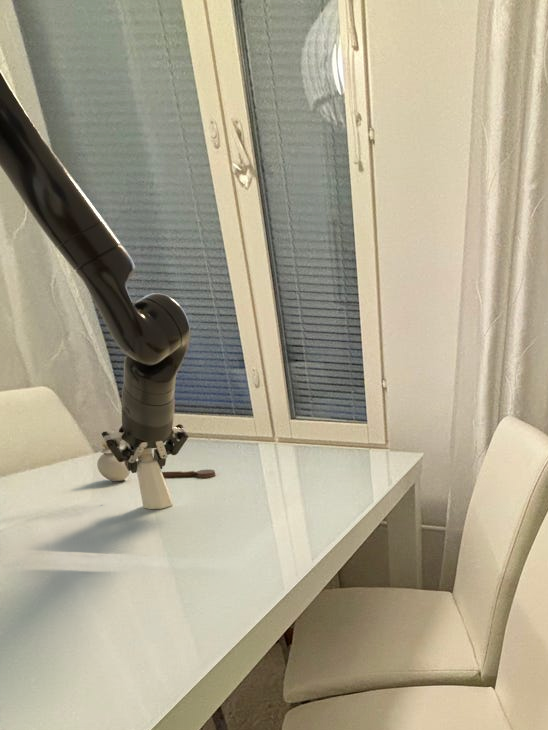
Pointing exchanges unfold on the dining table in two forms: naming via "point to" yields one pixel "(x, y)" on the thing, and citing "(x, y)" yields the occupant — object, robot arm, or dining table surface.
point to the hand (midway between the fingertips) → (144, 466)
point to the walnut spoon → (190, 474)
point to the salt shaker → (152, 482)
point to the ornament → (111, 466)
